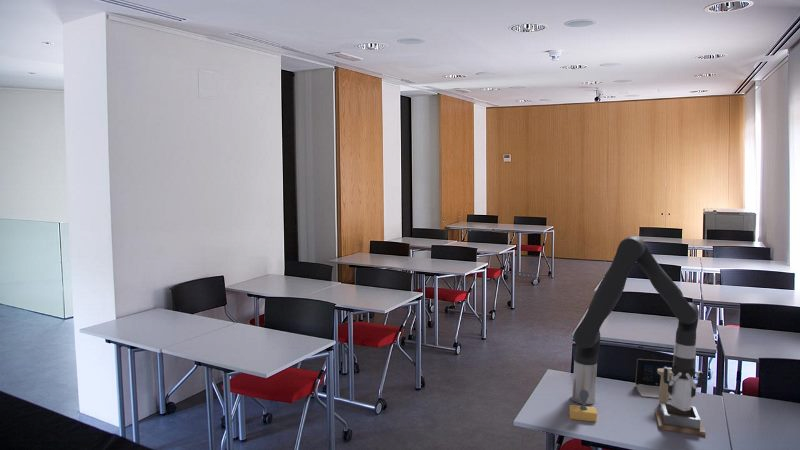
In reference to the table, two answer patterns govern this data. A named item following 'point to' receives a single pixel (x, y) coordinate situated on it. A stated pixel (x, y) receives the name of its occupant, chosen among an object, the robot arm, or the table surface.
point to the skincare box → (681, 394)
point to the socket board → (679, 420)
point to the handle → (663, 387)
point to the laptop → (650, 376)
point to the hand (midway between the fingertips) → (681, 395)
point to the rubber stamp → (583, 409)
